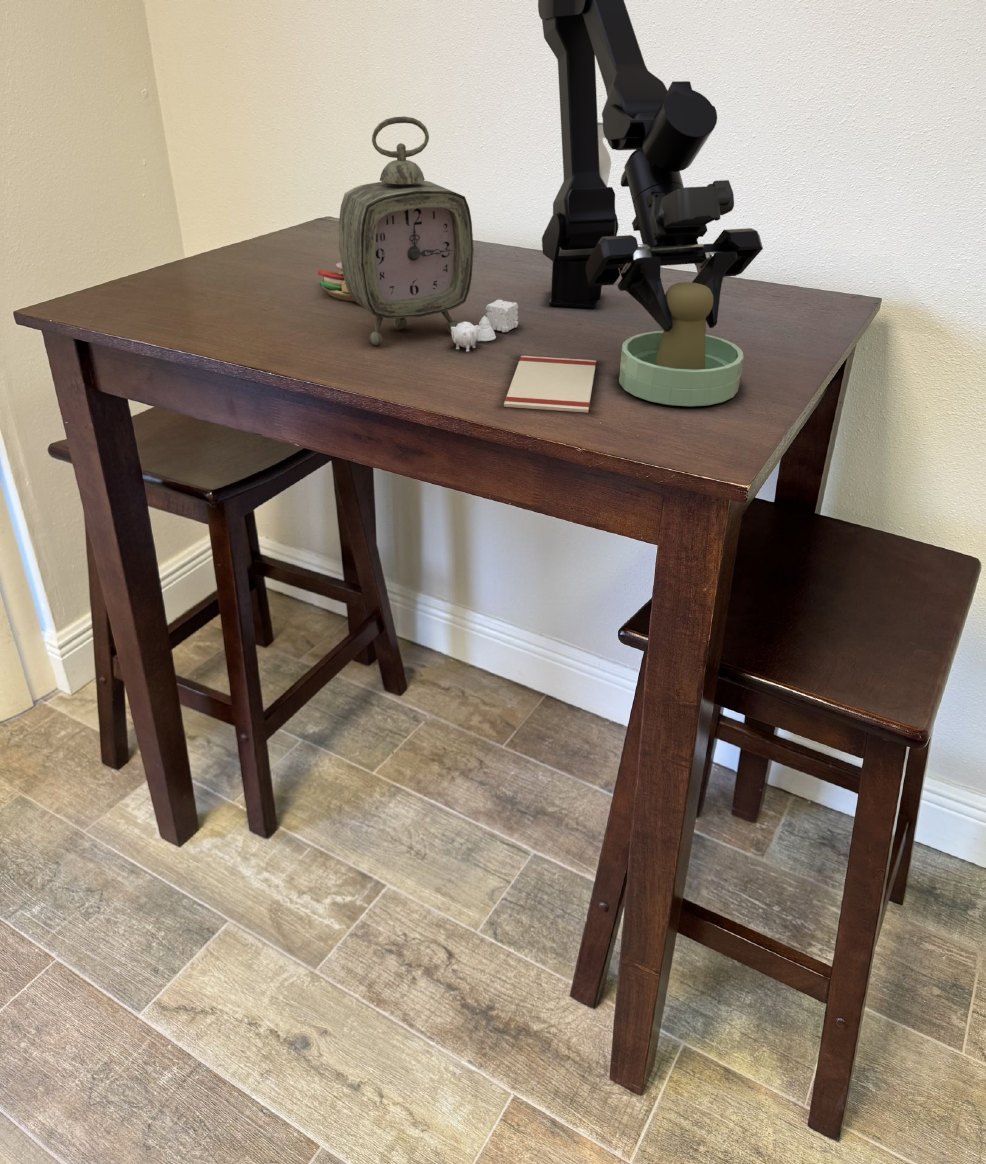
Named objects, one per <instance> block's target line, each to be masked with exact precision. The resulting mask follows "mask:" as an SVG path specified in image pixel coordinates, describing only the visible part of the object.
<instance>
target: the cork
mask: <svg viewBox="0 0 986 1164" xmlns="http://www.w3.org/2000/svg"><path fill="white" fill-rule="evenodd" d="M665 297H666V300H667V304H668V307H669V311H670V315H671V322H672V328H671V330H670V331H669V332H665V331H664V330H662V331H663V335H662V339H661V343H660V347H659V351H658V355H657V359H656V363H655V365H657V366H662V367H668V368H674V369H688V370H700V369H705V348H706V334H707V333H706V332H707V327H706V325H707V322H706V317H707V316H708V315H709V313H710V312H711V309H712V307H713V301H714V300H713V294H712V292H711V290H710V289H709V288H708V287H706V286H705V285H702V284H698V283H692V281H691V282H689V281H688V282H686V281H685V282H677V283H674V284H672V285H670V286H669V287H668V289H667V290H666V292H665Z"/></svg>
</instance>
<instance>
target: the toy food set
mask: <svg viewBox="0 0 986 1164" xmlns="http://www.w3.org/2000/svg"><path fill="white" fill-rule="evenodd" d="M335 268H336V269H337V270H339V271H340V272H334V271H331V270H325V269H318V270H317V274H318V275H319V276H321V277H323V279H322V280H321V281H319V286H320V287H321V288H322V289H323V290H324V291H325V292H327V294H328V295H329V296H331V297H333V298H335V299H338V300H342V301H347V302H348V301H349V302H354V303H355V302H356V301H355V300H353V299H352V298H351V296H350V294H349V292H348V290H347V287H346V284H345V280H344V276H343V270H342V263H341V261H340V262H337V263H336V264H335ZM356 303H357V302H356Z"/></svg>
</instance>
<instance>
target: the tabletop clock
mask: <svg viewBox="0 0 986 1164" xmlns="http://www.w3.org/2000/svg"><path fill="white" fill-rule="evenodd" d="M396 124H411V125H413V126H417V127H418V128H419V129H420V130H421V131H422V133H423V134H424V141H423V143H422V144H420V145H419V146H418V147H415V148H413V149H408V150H407V149H406V148H407V146H406V145H405V144H404V143H401V142H400V143H398V144H397V145H396V150H388V149H383V148H382V147H380V146H379V145H378V143H377V136H378V135H379V133H380V132H381V131H382V130H383V129H384V128H386V127H388V126H390V125H396ZM429 140H430V134H429V131H428V128H427V127H426V125H425V124H424V123H423V122H422V121H421V120H418V119H417V118H415V117H410V116H393V117H389V118H386V119H383V121H381V122H379V123H378V125H377V126H376V127H375V128H374V130H373V133H372V136H371V143H372V146H373V148H374V149H375V150H376V151H377V152H378V153H379V154H381V155H382V156H385V157H388V158H393V160H391V161H390V162H388V163H387V164H386V165H385V166H384V168H383V169H382V171H381V174H380V177H379V181H377V182H372V183H371V182H370V183H366V184H360V185H358V186H355V187H353V188H351V189H350V190H348V191H346V192H344V195H343V196H342V197H343V198H342V201H341V203H340V208H339V209H340V211H339V219H338V220H339V221H338V227H339V228H338V238H339V239H338V240H339V241H338V243H339V244H338V245H339V246H338V248H339V257H340V262H341V263H342V270H343V271H342V272H343V276H344V280H345V284H346V287H347V290H348V292H349V294H350V296H351V298H352V299H353V300H355V301H356V304H358V305H360V306H361V307H362V308H364V309H365V310H366V311H368V312H369V313H370V314H372V315H373V316H375V321H374V324H375V325H374V331H372V332H370V334H368V342H369V344H371V346H379V345H380V344H381V343H382V340H383V338H382V335H381V333H380V329H381V326H382V323H383V319H394V321H393V325H394V327H395V328H396V329H397V330H404V329H405V328H406V327H407V325H408V324H407V323H408V322H407V319H408V318H421V317H426V316H431V315H434V314H439V313H441V314H442V316H443V317H444V318H445V320H446V321H447V326H446V327H447V331H448V332H449V333H451V332H452V330H451V327H456V326H457V324H458V323H459V321H458V320H455V319H454V320H453V319H452V317H451V315H450V313H449V311H451V310H454V309H456V308H458V307H459V306H461V305H462V304H464V303H466V301H467V298H468V296H469V292H470V288H471V283H472V278H473V277H472V275H473V263H474V251H475V249H474V237H473V236H474V235H473V221H472V215H471V210H470V207H469V203H468V201H467V199H466V196H464V195H462V194H460V193H458V192H456V191H453V190H451V189H448V188H446V187H444V186H441V185H439V184H436V183H434V182H431V181H429V180H425V175H424V172H423V171H422V169H421V167H420V166H419V165H418V164H417V163H416V162H414V161H412V160H409V159H407V158H410V157H413V156H416V155H417V154H420V153H422V152H423V151H424V150H425V148H426V147H427V146H428V144H429ZM355 301H354V302H355Z"/></svg>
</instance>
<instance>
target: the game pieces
mask: <svg viewBox="0 0 986 1164" xmlns="http://www.w3.org/2000/svg"><path fill="white" fill-rule="evenodd" d="M519 307H520V306H519V304H518V303H517V302H516V301H514V302H513V301H507V300H503V299H496V300H495V301H493V302H490V303H487V305H486V307H485V311H486V314H484V315H483V316H482V317H481V318H480V319H479V321H478V324H476V325H474V324H473V323H471V322H470V321H461V322H458V324H457V326H456V327H451V330H452V332H450V334H451V339H452V341H453V343H454V344H455V346H456V347H455V350H460V347H462V348H465V349H466V350H465V352H470V351H471V350H470V347H471V348H472V349H476V348H477V347H476V343H477V342H491V341H495V340H496V338H497V335H496V334H495V331H498V332H501V333H508V332H509V331H511V330H512V329H514V328H517V327H518V324H519V321H518V319H519V317H518V315H519V314H518V313H519V310H518V309H519Z"/></svg>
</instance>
